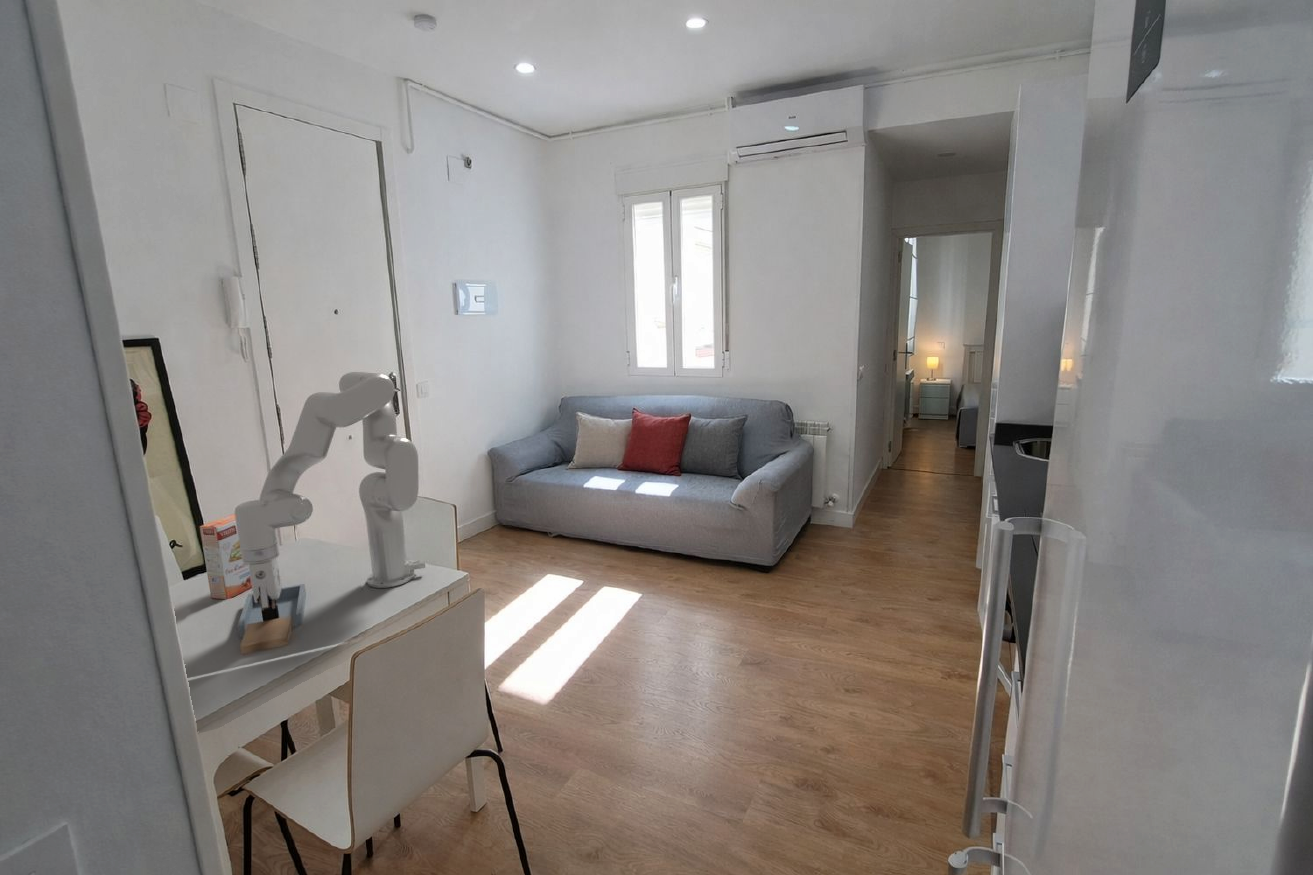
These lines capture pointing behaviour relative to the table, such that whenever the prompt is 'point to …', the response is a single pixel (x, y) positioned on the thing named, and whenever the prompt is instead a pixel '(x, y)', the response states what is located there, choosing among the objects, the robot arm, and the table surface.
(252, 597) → the blue-grey open-ended tray
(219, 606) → the table surface
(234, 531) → the cracker box
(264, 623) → the tan square slab
